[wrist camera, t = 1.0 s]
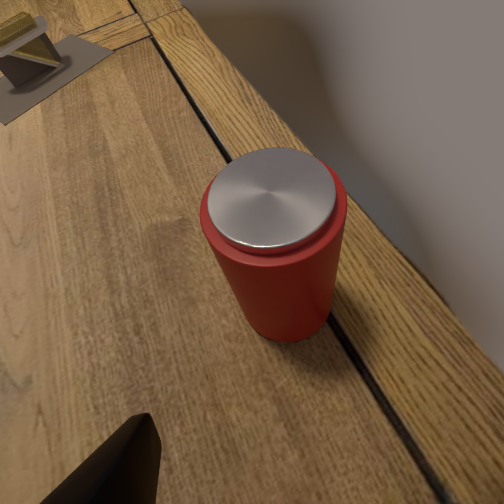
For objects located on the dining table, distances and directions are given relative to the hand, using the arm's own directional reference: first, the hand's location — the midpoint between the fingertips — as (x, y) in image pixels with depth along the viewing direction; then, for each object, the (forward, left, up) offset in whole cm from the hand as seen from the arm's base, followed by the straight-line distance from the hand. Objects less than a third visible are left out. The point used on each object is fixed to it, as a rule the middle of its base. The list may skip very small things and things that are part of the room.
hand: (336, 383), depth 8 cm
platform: (+44, +35, -14) cm, 57 cm away
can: (+8, +2, -14) cm, 16 cm away
